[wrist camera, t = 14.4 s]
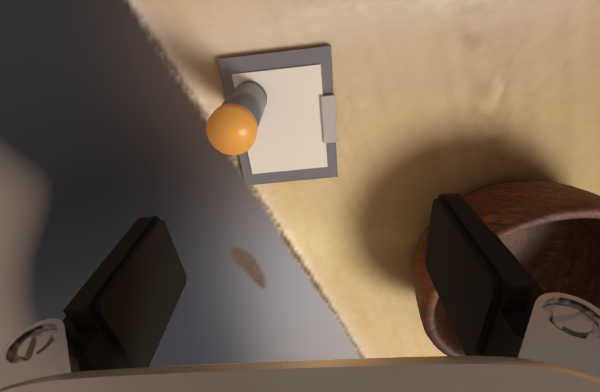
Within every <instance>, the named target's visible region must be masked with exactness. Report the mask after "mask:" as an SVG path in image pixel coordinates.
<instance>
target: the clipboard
mask: <svg viewBox="0 0 600 392" xmlns="http://www.w3.org/2000/svg"><path fill="white" fill-rule="evenodd" d="M218 64H219V68H220V73H221V77H222V81H223V86H224V90H225V95H226V99H227V98H228V97H229V95H230V94H231V93H232V92H233V91H234V89H235V88H236V87H237V86H238V85H239V84H240V83H242V82H244V81H255V82H257V83H259V84H260V85H261V86H262V87H263V88H264V89H265V91H266V94H267V103H266V106H265V109H264V112H263V115H262V118H261V121H260V124H259V126H258V132H257V136H256V139H255V142H254V144H253V146H252V147H251V148H250V149H249V150H248V151H247V152H245V153H243V154H240V155H239V158H240V162H241V167H242V171H243V176H244V180H245V185H255V184H266V183H277V182H287V181H298V180H308V179H319V178H329V177H338V174H337V155H336V142H337V129H336V109H335V94H333V77H332V57H331V45H329V46H320V47H312V48H304V49H295V50H287V51H278V52H270V53H261V54H253V55H244V56H236V57H227V58H219V59H218Z"/></svg>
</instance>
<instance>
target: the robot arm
mask: <svg viewBox="0 0 600 392" xmlns="http://www.w3.org/2000/svg"><path fill="white" fill-rule="evenodd" d="M425 265H426V269H427V272H428V274H429V276H430V278H431V280H432V283H433V285H434V287H435V289H436V291H437V294H438V296H439V298H440V300H441V302H442V305H443V307H444V309H445V311H446V313H447V316H448V318H449V320H450V322H451V324H452V327H453V329H454V331H455V333H456V335H457V338H458V340H459V342H460V344H461V346H462V349H463V351H464V353H465V355H466V356H438V357H396V358H367V359H341V360H340V359H339V360H338V359H337V360H312V361H311V360H309V361H285V362H259V363H236V364H211V365H210V364H209V365H190V366H189V365H187V366H165V367H149V365H150V363H151V360H152V358H153V356H154V354H155V351H156V349H157V347H158V345H159V342H160V340H161V338H162V336H163V334H164V331H165V329H166V327H167V325H168V322H169V320H170V318H171V315H172V313H173V311H174V309H175V307H176V304H177V302H178V300H179V298H180V295H181V293H182V291H183V289H184V287H185V284H186V273H185V271H184V269H183V266H182V264H181V262H180V259H179V256H178V254H177V251H176V249H175V246H174V244H173V241H172V239H171V236H170V234H169V231H168V229H167V226H166V224H165V222H164V221H163V220H160V219H159V218H158V217H157V216H151V217H140V218H138V219H137V220H136V222H135V223H134V224H133V225H132V227H131V228H130V229H129V230H128V231H127V233H126V234H125V235H124V236H123V238H122V239H121V240H120V241H119V243H118V244H117V245H116V246H115V247H114V249H113V250H112V251H111V252H110V254H109V255H108V256H107V257H106V259H105V260H104V261H103V262H102V263H101V265H100V266H99V267H98V268H97V270H96V271H95V272H94V273H93V275H92V276H91V277H90V278H89V280H88V281H87V282H86V283H85V284H84V286H83V287H82V288H81V289H80V290H79V292H78V293H77V294H76V296H75V297H74V298H73V299H72V300H71V301H70V303H69V304H68V305H67V306H66V308H65V309H64V310H63V311H64V313H65V314H66V315H67V316H66V317H65V319H64V320H63V321H61V320H59V319H48V320H43V321H40V322H38V323H36V324H33V325H31V326H30V327H28V328H26V329H24V330H23V331H21V332H20V333H18V334H17V335H16V336H15V337H13V338H12V340H10V341H9V342H8V343H7V344H6V346H5V347H4V348H3V350H2V351H1V353H0V392H600V309H599V308H597V307H595V306H594V305H592V304H591V303H589V302H587V301H585V300H583V299H581V298H578V297H576V296H572V295H569V294H565V293H556V292H553V293H545V292H544V291H543V290H542V289H541V287H540V286H539V285H538V284H537V283H536V281H535V280H534V279H533V278H532V277H531V275H530V274H529V273H528V272H527V271H526V269H525V268H524V267H523V266H522V265H521V263H520V262H519V261H518V260H517V259H516V258H515V256H514V255H513V254H512V253H511V252H510V250H509V249H508V248H507V247H506V246H505V244H504V243H503V242H502V241H501V240H500V238H499V237H498V236H497V235H496V234H495V233H494V232H493V231H490V230H489V228H488V227H487V226H486V225H485V223H484V222H483V221H482V220H481V219H480V217H479V216H478V215H477V214H476V212H475V211H474V210H473V209H472V208H471V206H470V205H469V204H468V203H467V202H466V200H465V199H464V198H463V197H462V195H461V194H459V193H452V194H441V195H439V197H438V199H434V201H433V205H432V212H431V220H430V227H429V235H428V242H427V249H426V257H425Z"/></svg>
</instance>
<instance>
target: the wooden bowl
mask: <svg viewBox="0 0 600 392" xmlns="http://www.w3.org/2000/svg"><path fill="white" fill-rule="evenodd" d="M463 198H464V199H465V200H466V202H467V203H468V204H469V205H470V206H471V208H472V209H473V210H474V211H475V212H476V214H477V215H478V216H479V217H480V219H481V220H482V221H483V222H484V223H485V225H486V226H487V227H488V228H489V230H490V231H493V232H494V233H495V234H496V235H497V236H498V237H499V238H500V240H501V241H502V242H503V243H504V244H505V246H506V247H507V248H508V249H509V250H510V252H511V253H512V254H513V255H514V256H515V258H516V259H517V260H518V261H519V262H520V263H521V265H522V266H523V267H524V268H525V269H526V271H527V272H528V273H529V274H530V275H531V277H532V278H533V279H534V280H535V281H536V283H537V284H538V285H539V286H540V287H541V289H542V290H543V291H544V292H545V293H553V292H556V293H565V294H569V295H572V296H576V297H578V298H581V299H583V300H585V301H587V302H589V303H591V304H592V305H594V306H595V307H597V308H599V309H600V196H599V195H596V194H594V193H591V192H588V191H585V190H582V189H579V188H576V187H573V186H569V185H564V184H559V183H554V182H547V181H534V180H522V181H510V182H503V183H498V184H494V185H490V186H487V187H484V188H481V189H478V190H476V191H473V192H471V193H469V194H467V195H465V196H463ZM429 227H430V225H429ZM429 227H428V228H427V230H426V231H425V233H424V235H423V237H422V239H421V241H420V243H419V246H418V248H417V252H416V256H415V261H414V288H415V294H416V300H417V305H418V309H419V313H420V317H421V321H422V324H423V327H424V330H425V332H426V334H427V336H428V337H429V339H430V340H431V341H432V343H433V344H434V345H435V346H436V347H437V348H438V349H439V350H440V351H441V352H443V353H444V354H446V355H447V356H466V355H465V353H464V351H463V349H462V346H461V344H460V342H459V340H458V338H457V335H456V333H455V331H454V329H453V327H452V324H451V322H450V320H449V318H448V316H447V313H446V311H445V309H444V307H443V305H442V302H441V300H440V298H439V296H438V294H437V291H436V289H435V287H434V285H433V283H432V280H431V278H430V276H429V274H428V272H427V269H426V265H425V257H426V249H427V242H428V235H429Z"/></svg>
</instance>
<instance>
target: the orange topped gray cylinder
mask: <svg viewBox="0 0 600 392" xmlns="http://www.w3.org/2000/svg"><path fill="white" fill-rule="evenodd" d="M266 103H267V94H266V91H265V89H264V88H263V87H262V86H261V85H260V84H259V83H257V82H255V81H244V82H242V83H240V84H239V85H238V86H237V87H236V88H235V89H234V91H233V92H232V93H231V94H230V95H229V97H228V98H227V99H226V100H225V101H224V103H223V104H222V105H221V106H220V107H218V108H217V109H216V110H215V111H214V112H213V113H212V115H211V116H210V117H209V119H208V122H207V126H206V132H207V136H208V139H209V141H210V142H211V144H212V145H213V146H214V147H215V148H216V149H218V150H219V151H220V152H222V153H225V154H228V155H240V154H243V153H245V152H247V151H248V150H249V149H250V148H251V147H252V146H253V144H254V142H255V139H256V136H257V132H258V126H259V124H260V121H261V118H262V115H263V112H264V109H265V106H266Z"/></svg>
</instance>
